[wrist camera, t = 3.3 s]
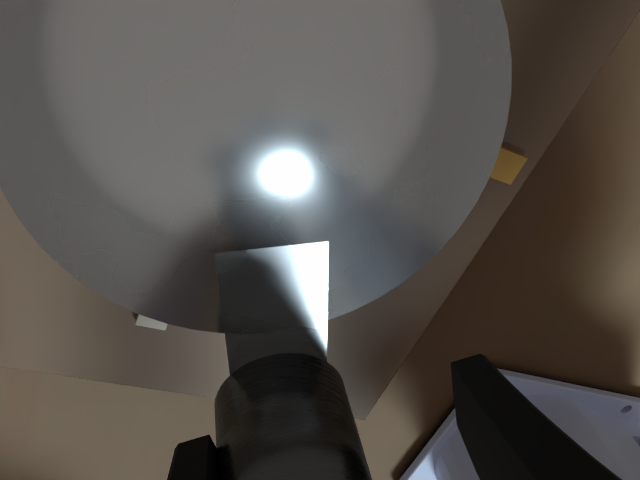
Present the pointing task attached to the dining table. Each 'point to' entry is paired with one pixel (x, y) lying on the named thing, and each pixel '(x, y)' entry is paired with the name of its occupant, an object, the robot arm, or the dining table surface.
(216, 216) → the grey disc with handle
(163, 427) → the dining table surface
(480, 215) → the lock base
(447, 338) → the dining table surface
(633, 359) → the dining table surface
